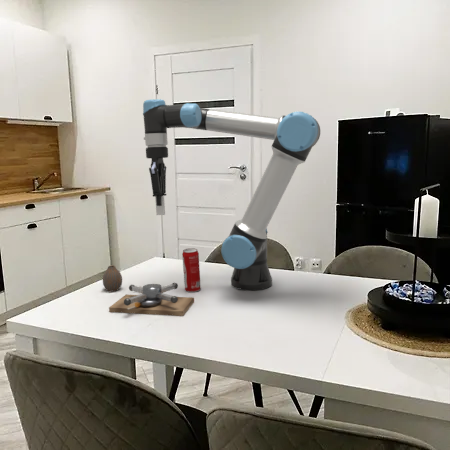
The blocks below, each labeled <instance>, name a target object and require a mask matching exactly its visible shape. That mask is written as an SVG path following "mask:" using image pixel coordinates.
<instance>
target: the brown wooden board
mask: <svg viewBox="0 0 450 450" xmlns="http://www.w3.org/2000/svg"><path fill="white" fill-rule="evenodd" d="M137 295H138V294H125V295H123V296H122V297H121V298H119V299H118V300H116V301H115V302H114V303H113V304H111V305H110V306H109V307H108V310H109V311H108V312H109V313H121V314H135V315H137V314H138V315H139V314H140V315H154V316H155V315H157V316H170V317H171V316H174V317H184V316H185V314H186V313H187V312H188V311H189V310H190V308H191V307H192V306H193V304H195V297H190V296H189V297H187V296H186V297H185V296H176V297H177V298H178V301H177V302H176V303H172V302H170V301H166V300H163V299H162V303H161V304H159V305H156V306H151V307H142V306H140V307H135V303H136V302H135V303H132V304H130V305H128V306H127V305H125V304H124V300H125V299H126V298H131V297H134V296H137Z"/></svg>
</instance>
